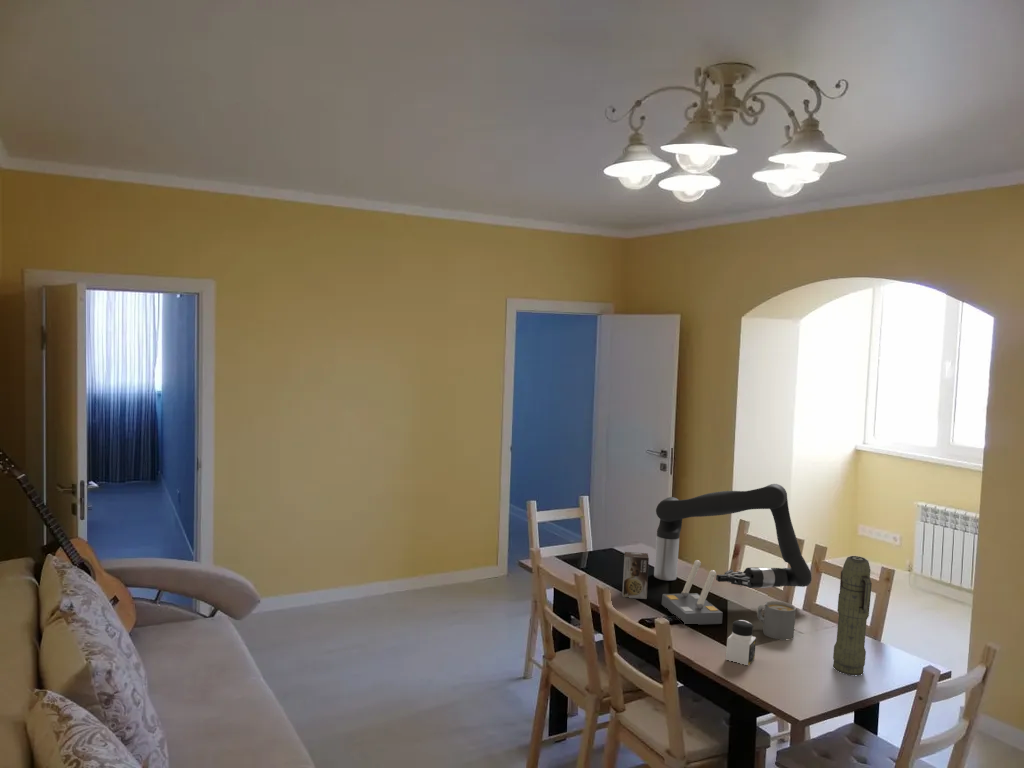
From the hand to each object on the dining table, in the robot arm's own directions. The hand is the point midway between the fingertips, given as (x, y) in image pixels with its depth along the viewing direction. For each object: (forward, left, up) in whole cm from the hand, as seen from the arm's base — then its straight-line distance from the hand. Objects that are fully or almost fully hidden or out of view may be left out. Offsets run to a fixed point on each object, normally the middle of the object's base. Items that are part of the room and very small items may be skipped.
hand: (717, 578), depth 288 cm
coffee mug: (+25, +9, -11) cm, 29 cm away
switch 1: (0, -13, -6) cm, 14 cm away
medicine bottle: (+45, -15, -11) cm, 49 cm away
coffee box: (-14, -27, -11) cm, 32 cm away
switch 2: (+12, -13, -6) cm, 18 cm away
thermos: (+55, +16, -11) cm, 59 cm away
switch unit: (+6, -13, -11) cm, 18 cm away
